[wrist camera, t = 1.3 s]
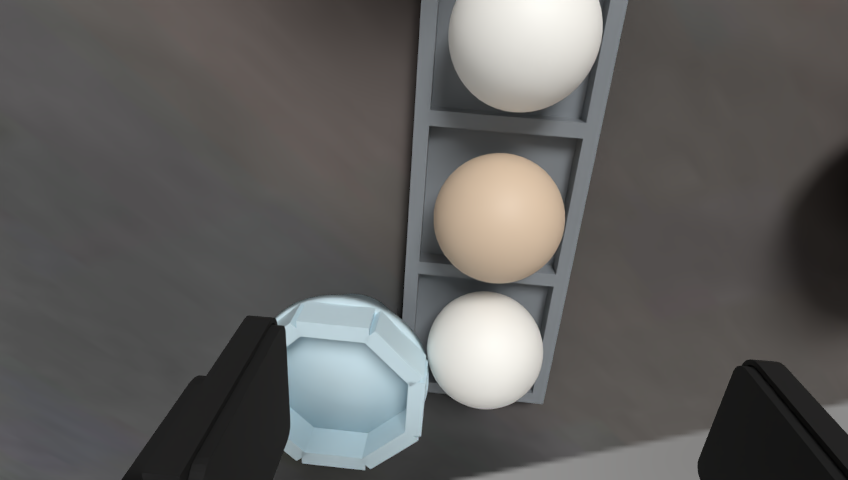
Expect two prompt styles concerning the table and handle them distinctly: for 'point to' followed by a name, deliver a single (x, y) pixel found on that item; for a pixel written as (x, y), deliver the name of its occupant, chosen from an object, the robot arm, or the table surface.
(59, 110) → the table surface
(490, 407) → the white egg
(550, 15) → the white egg
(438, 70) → the egg tray
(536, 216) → the egg brown
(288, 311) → the egg cup
